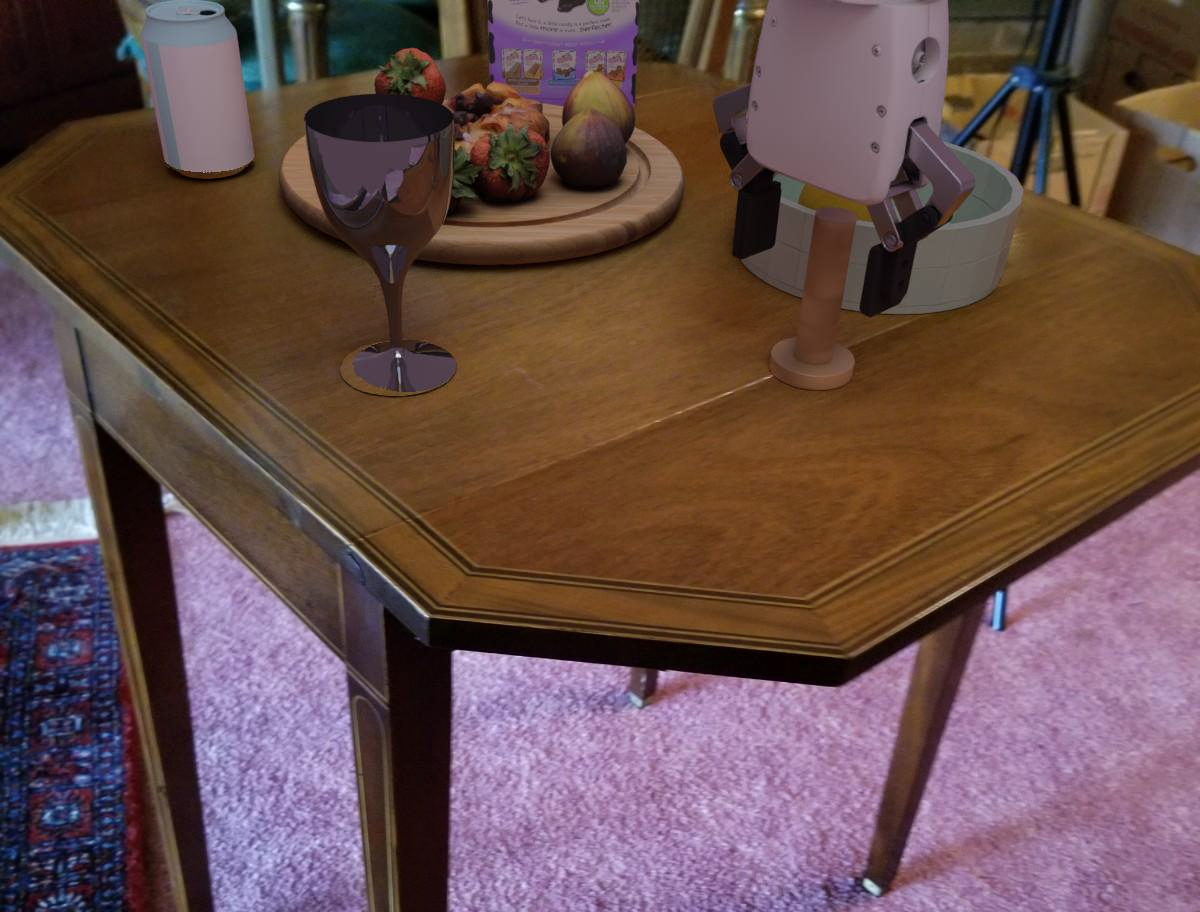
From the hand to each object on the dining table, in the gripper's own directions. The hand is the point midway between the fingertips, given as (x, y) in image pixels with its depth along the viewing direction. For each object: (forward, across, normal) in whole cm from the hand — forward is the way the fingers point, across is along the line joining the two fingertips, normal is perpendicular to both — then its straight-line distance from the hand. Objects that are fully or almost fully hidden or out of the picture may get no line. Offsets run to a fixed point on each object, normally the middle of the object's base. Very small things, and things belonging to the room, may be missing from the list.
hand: (814, 279), depth 71 cm
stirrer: (+7, 0, -2) cm, 7 cm away
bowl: (+7, +9, -18) cm, 22 cm away
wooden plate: (+6, +36, -4) cm, 37 cm away
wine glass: (+6, +16, +19) cm, 26 cm away
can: (+6, +53, +12) cm, 55 cm away
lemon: (+5, +6, -15) cm, 17 cm away
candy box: (+7, +50, -24) cm, 56 cm away
